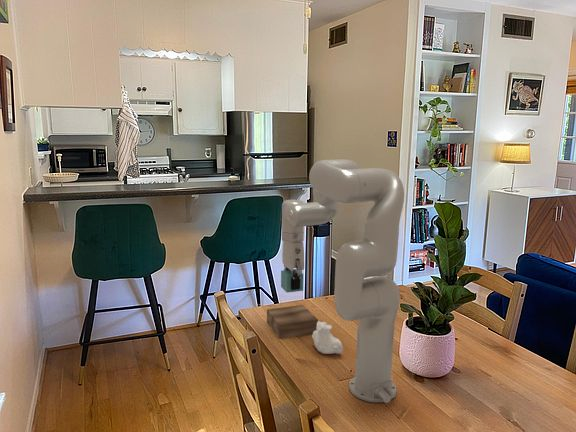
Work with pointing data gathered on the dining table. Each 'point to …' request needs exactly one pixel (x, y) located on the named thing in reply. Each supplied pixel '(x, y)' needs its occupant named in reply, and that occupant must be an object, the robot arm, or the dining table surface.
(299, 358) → the dining table surface
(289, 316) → the walnut block
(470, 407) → the dining table surface
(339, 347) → the bust
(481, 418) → the dining table surface
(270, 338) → the dining table surface
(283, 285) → the teal cube
